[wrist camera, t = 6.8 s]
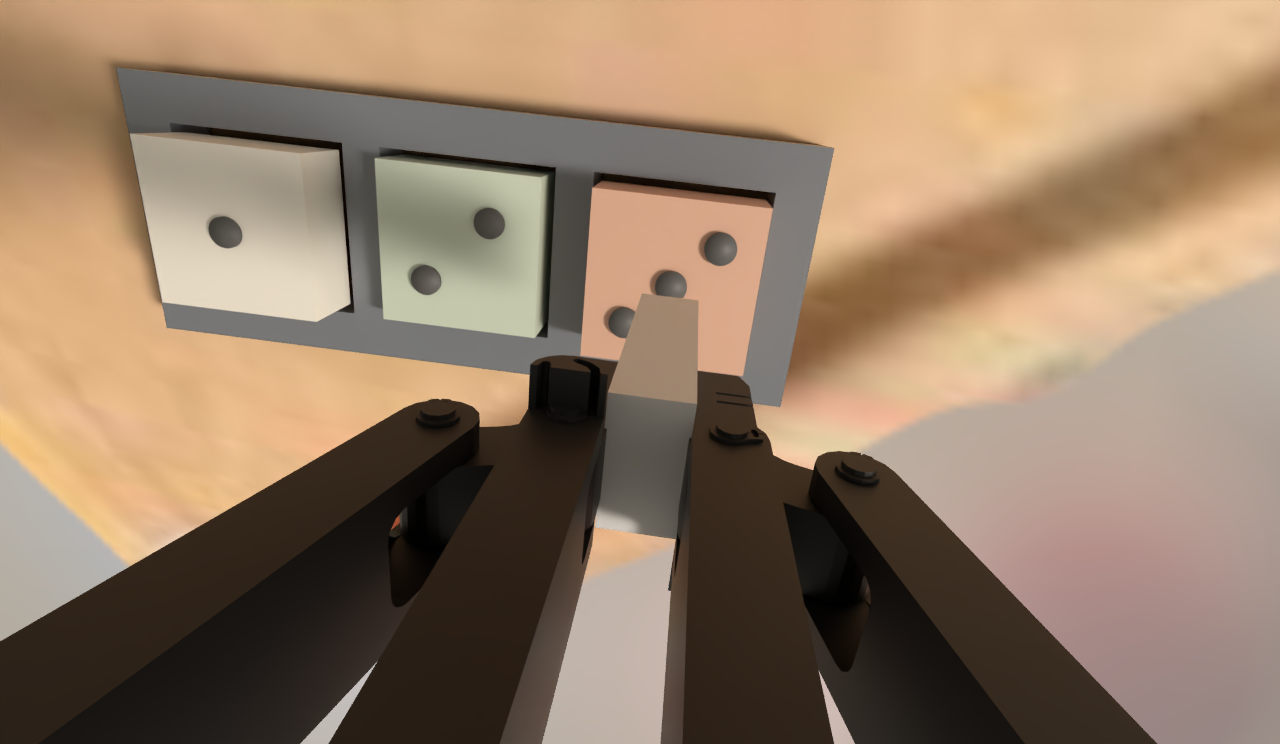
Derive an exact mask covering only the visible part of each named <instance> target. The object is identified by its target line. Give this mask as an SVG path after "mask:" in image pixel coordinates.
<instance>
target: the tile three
mask: <svg viewBox="0 0 1280 744" xmlns="http://www.w3.org/2000/svg"><path fill="white" fill-rule="evenodd" d="M772 212H773V208H772V207H771V206H770V204H769V203H768V202H767V201H766V199H757V198H749V197H740V196H731V195H723V194H714V193H706V192H697V191H688V190H680V189H671V188H663V187H654V186H645V185H637V184H628V183H620V182H611V181H601V182H600V183H598V184H597V185H595V186H594V187H592V198H591V212H590V226H589V240H588V254H587V268H586V282H585V296H584V310H583V325H582V339H581V353H580V356H588V357H596V358H603V359H611V360H619V358H620V356H621V353H622V350H623V347H624V344H625V341H626V338H627V335H628V332H629V329H630V327H631V324H632V321H633V318H634V315H635V312H636V309H637V306H638V303H639V300H640V298H641V295H642V293H644V294H652V295H659V296H667V297H675V298H683V299H691V300H698V371H705V372H713V373H721V374H729V375H737V376H743V373H744V367H745V362H746V356H747V351H748V345H749V340H750V334H751V329H752V323H753V317H754V312H755V306H756V301H757V295H758V290H759V284H760V278H761V273H762V267H763V262H764V256H765V251H766V245H767V240H768V234H769V228H770V223H771V217H772Z"/></svg>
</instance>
